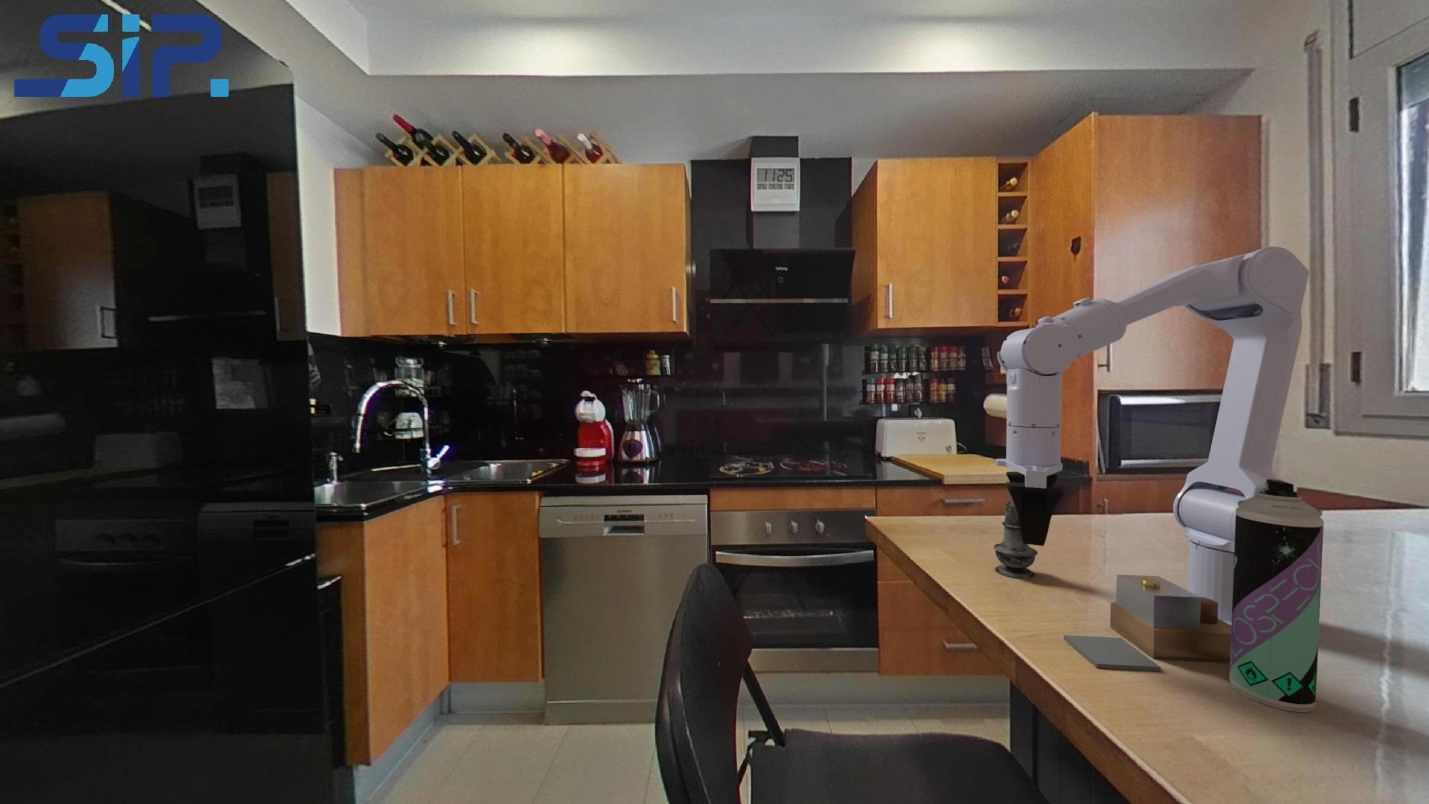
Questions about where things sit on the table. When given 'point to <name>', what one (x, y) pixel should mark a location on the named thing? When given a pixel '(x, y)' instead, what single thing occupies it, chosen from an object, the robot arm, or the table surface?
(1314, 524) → the spray can
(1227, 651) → the body
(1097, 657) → the mat
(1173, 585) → the grey knob block
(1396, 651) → the table surface
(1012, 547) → the salt shaker
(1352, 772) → the table surface
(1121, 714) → the table surface
